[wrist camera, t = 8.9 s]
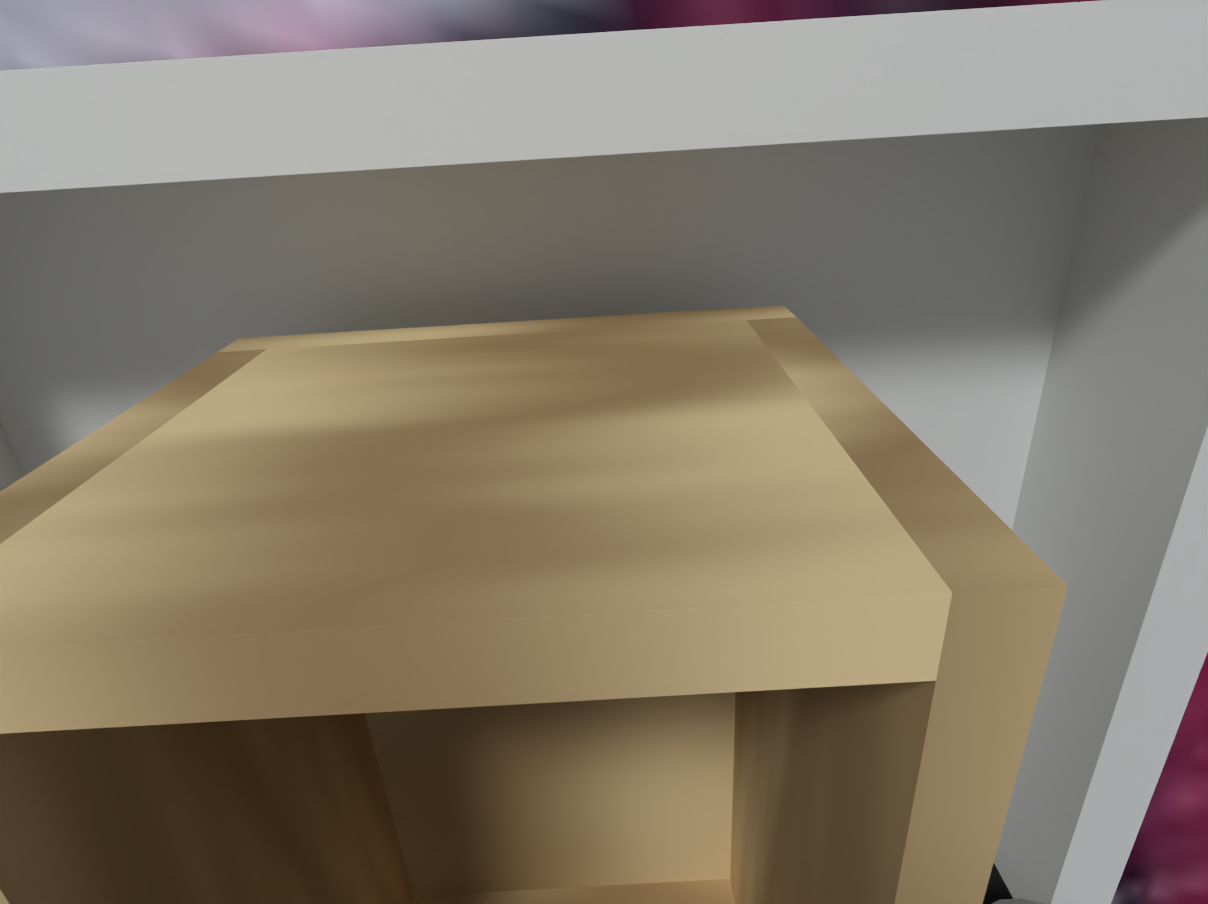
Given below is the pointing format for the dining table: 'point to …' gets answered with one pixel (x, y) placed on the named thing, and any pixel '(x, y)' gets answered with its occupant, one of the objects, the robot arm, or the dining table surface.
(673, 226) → the white tray
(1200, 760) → the dining table surface
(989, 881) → the robot arm
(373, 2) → the dining table surface
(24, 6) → the dining table surface
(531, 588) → the pine crate
